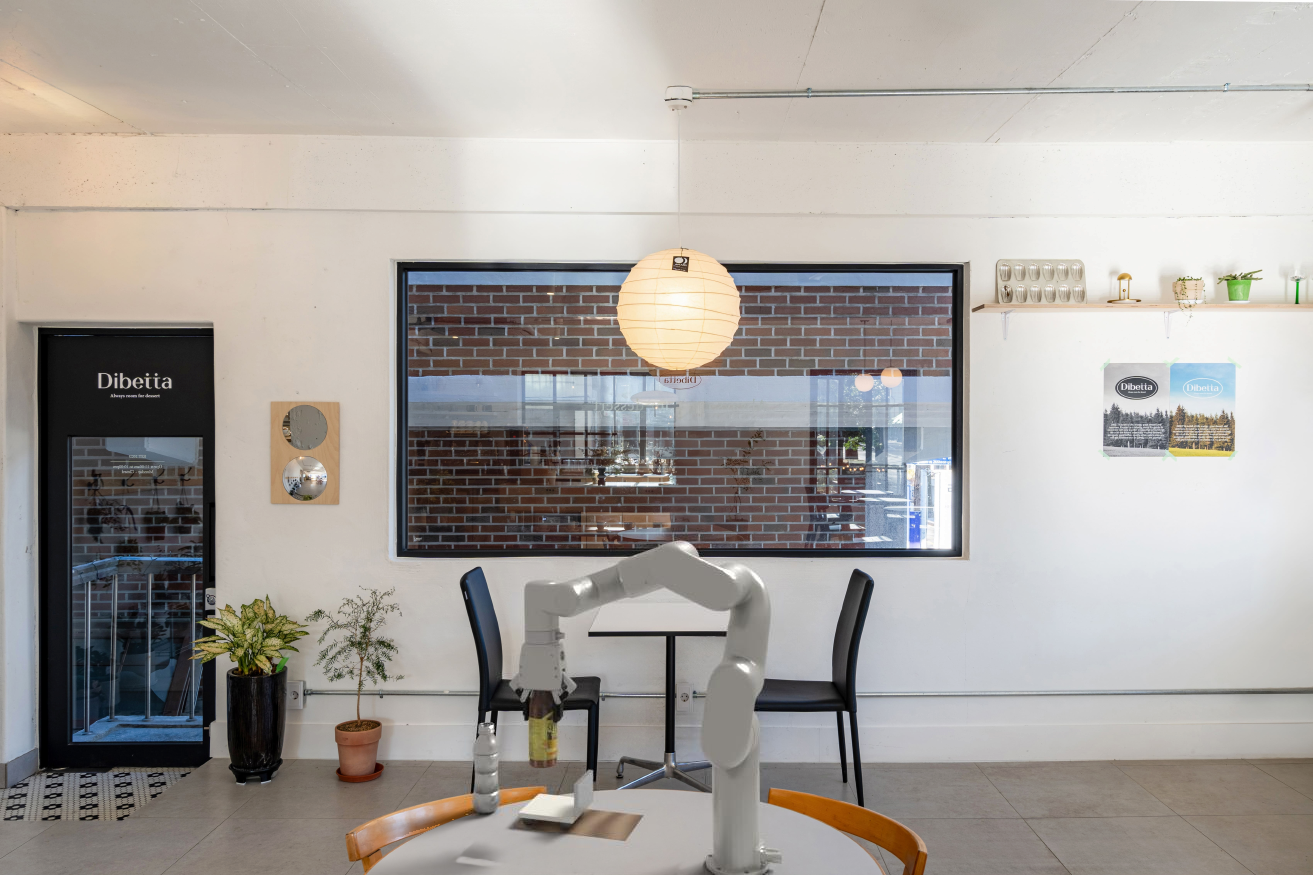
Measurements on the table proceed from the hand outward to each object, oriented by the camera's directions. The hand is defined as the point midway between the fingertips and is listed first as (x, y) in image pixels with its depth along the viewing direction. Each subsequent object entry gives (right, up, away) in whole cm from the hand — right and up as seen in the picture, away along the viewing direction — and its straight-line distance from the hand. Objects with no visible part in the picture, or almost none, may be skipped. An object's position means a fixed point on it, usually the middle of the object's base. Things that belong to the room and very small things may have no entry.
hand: (542, 719), depth 173 cm
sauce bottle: (0, -10, -1) cm, 10 cm away
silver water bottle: (-15, -27, +13) cm, 33 cm away
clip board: (+8, -26, +4) cm, 27 cm away
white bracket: (+2, -25, +6) cm, 26 cm away
